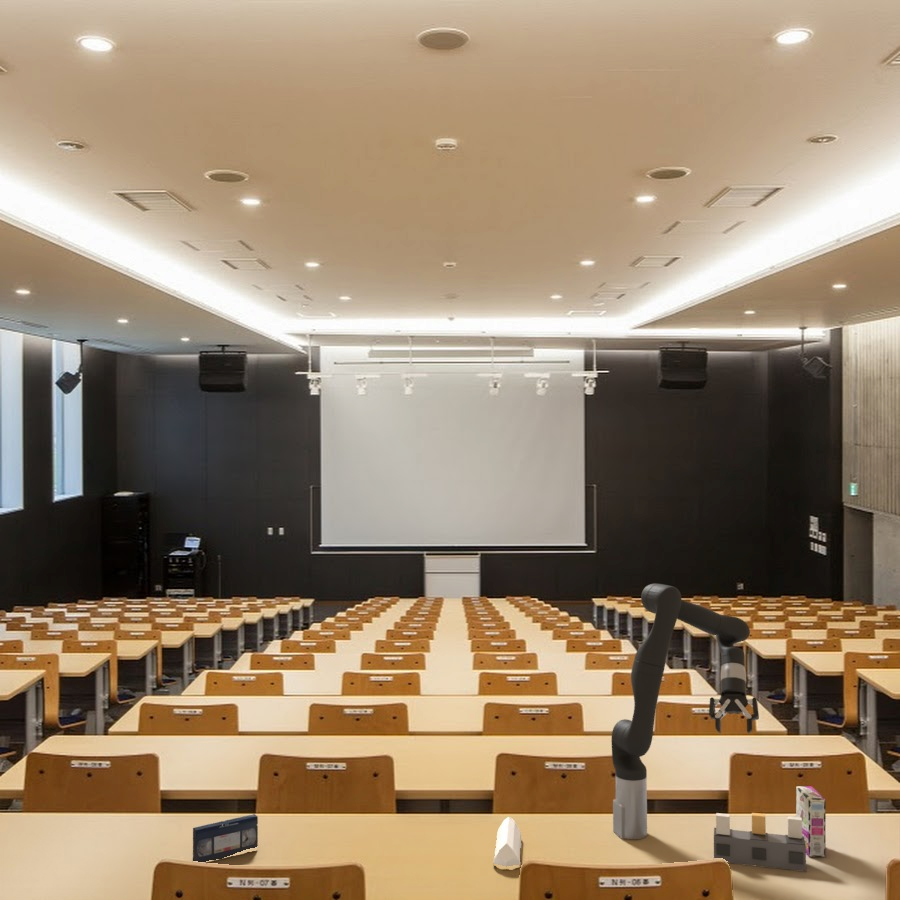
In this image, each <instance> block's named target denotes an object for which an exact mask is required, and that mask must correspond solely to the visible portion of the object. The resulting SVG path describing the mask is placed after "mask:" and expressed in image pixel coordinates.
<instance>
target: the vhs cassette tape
mask: <svg viewBox="0 0 900 900" xmlns="http://www.w3.org/2000/svg"><path fill="white" fill-rule="evenodd" d="M258 821H259V818H258V815H256V814H255V813H253V814H250V815H244V816H240V817H235V818H231V819H227V820H223V821H222V820H221V821H217V822H213V823H208V824H204V825H201V826H195V827H192V862H193V861H198V862H206V861H209V860H216V859H222V858H224V857H227V856H230V855H233V854H235V853H237V852H241V851H243V850H246V849H250V848H255V847H257V846H258V847H259V844H258V841H259V836H258V835H259V834H258V833H259V832H258V828H259V826H258V823H259V822H258ZM222 860H223V859H222Z"/></svg>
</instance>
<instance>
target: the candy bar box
mask: <svg viewBox="0 0 900 900" xmlns="http://www.w3.org/2000/svg"><path fill="white" fill-rule="evenodd" d="M795 788H796V789H795V791H796V795H795V796H796V797H795V798H796V799H795V803H796V804H795V805H796V807H795V811H796V813H795V817H801V818H802V837H804V839H805V844H806V856H808V858H826V850H827V849H826V848H827V847H826V845H827V844H826V839H827V838H826V824H827V822H826V819H827V817H826V815H827V814H826V812H827V811H826V801H827V800H826V798H825V797H824V796H823V795H821V793H820V792H818V790H816V789H815V788H814V787H813V786H809V785H808V786H807V785H806V786H805V785H804V786H799V785H798V786H796V787H795Z"/></svg>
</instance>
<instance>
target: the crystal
mask: <svg viewBox="0 0 900 900" xmlns="http://www.w3.org/2000/svg"><path fill="white" fill-rule="evenodd" d="M496 838H497V840H495V846H496V848H494V854H495V856H493V863H494V864H498V865H502V866H506V867H507V866H513V865H520V866H521V862H520V848H521V849H522V843H521V838H522V832H521V830H520V828H519V826H518V824H517V823H516V821H515V820H514V819H513V818H512V817H510V816H508V817H507V818H505V819H504V820H503V821H502V822H501V824H500V826H499V827H498V829H497V833H496ZM499 850H500V851H499Z"/></svg>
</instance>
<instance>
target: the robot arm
mask: <svg viewBox="0 0 900 900" xmlns="http://www.w3.org/2000/svg"><path fill="white" fill-rule="evenodd" d="M640 598H641V599H640V601H641V604H642V606H643V607H644V609H645V610H646V611H647V612H650V614H651V613H652V614H655V616H654V619H653V620H654V621H653V624H652V628H651V630H650V632H649V634H647V637H646V638H645V639H644V640H643V642H642V643H641V644H640V646H639V647H638V649H637V651H636V653H635V656H634V658H633V664H632V668H631V673H630V683H631V688H632V694H633V700H634V703H633V705H634V707H633V714H632V719H631V720H630V719H625V718H624V719H620V720H619V721H617V723H615V724H614V726H613V729H612V731H611V741H610V742H611V755H612V757H611V758H612V759H611V760H612V765H613V767H614V771H615V775H614V776H615V778H614V779H615V798H614V799H612V829H613V830H612V832H613V833H615V835H617V836H618V837H619V838H620V839H626V838H627V840H640V839H644V838H646V837H647V836H648V802H647V801H648V798H647V797H648V793H647V792H648V789H647V788H648V787H647V786H648V785H647V784H648V783H647V779H648V778H647V777H648V776H647V774H648V773H647V772H648V771H647V767H646V765H645V764H644V763H643V761H642V759H641V757H643V756H644V755H646V754H647V753H648V752H649V750H650V748H651V745H652V741H653V734H654V726H655V718H656V709H657V705H658V701H659V694H660V690H661V689H660V688H661V684H662V681H663V677H664V672H665V667H666V662H667V656H668V652H669V648H670V644H671V639H672V635H673V633H674V629H675V626H676V623H677V620H678V621H680V622H683V623H686V624H687V625H689V626H691V627H693V628H696V629H698V630H700V631H703V632H704V633H707V634H709V635H712V636H715V638H716V641H717V644H718V648H719V651H720V655H721V657H720V658H721V667H720V698H714V697H710V698H709V711H708V716H709V718H710V720H715V721H714V722H715V725H714V727H715V728H714V729H715V730H716V732H718V734H721V733H722V719H723V718H724V717H725V716H726V715H727V714H729V715H732V714H736V715H740V714H741V713H742V714H743V716H745V718H746V731H747V734H749V735H750V734H751V732H753V730H754V729H753V725H754V724H753V722H754V721H756V720H759V719H760V715H759V705H758V704H759V703H758V700H757V697H753V698H747V673H746V666H745V665H746V663H745V661H746V660H745V659H746V658H745V652H744V650H743V649H741V648H740V647H735V644H738V643H741V642H744V641H746V640H747V639H748V638H749V637H750V633H751V631H750V627H749V624H748V623H747V622H746V621H744V620H743V619H741V618H739V617H737V616H736V617H735V616H732V615H725V614H720V613H718V612H716V611H713V610H712V609H709V608H707V607H704V606H702V605H699V604H695V603H692V602H689V601H686V600H683V599H682V594H681V592H680V590H679V588H677V587H675V586H672V585H668V584H663V583H651V584H648V585H646V586H645V587H644V588H643V590H642V591H641V597H640ZM718 705H720V706H721V707H720V708H719V710H718V711H717V713H716V707H718ZM748 705H750V706H751V707H752V711H753V714H750V712H749V711H748V710H747V708H746V707H747V706H748Z"/></svg>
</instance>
